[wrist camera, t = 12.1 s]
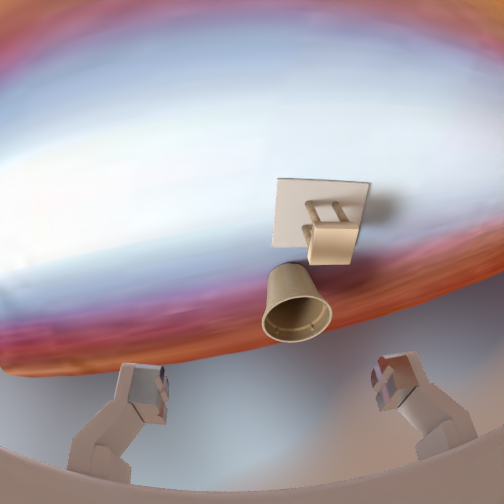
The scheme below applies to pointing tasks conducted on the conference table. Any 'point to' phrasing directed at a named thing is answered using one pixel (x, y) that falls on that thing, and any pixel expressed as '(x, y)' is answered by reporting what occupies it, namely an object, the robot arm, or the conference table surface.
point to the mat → (322, 196)
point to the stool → (329, 237)
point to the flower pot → (294, 305)
